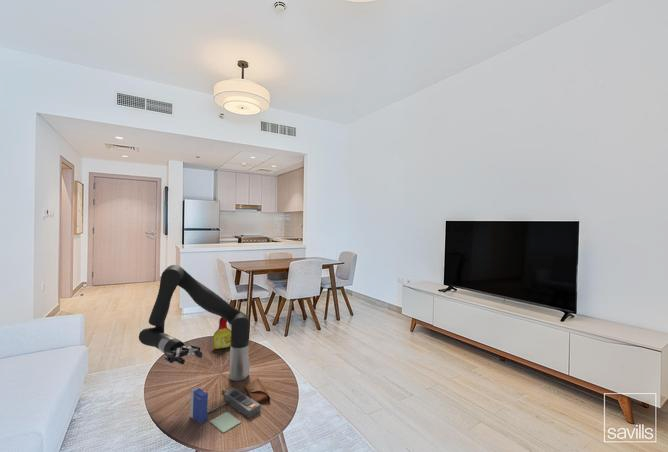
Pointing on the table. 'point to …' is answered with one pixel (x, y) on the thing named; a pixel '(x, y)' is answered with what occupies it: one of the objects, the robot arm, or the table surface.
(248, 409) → the power strip
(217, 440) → the table surface
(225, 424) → the mat
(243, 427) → the table surface
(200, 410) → the walkman
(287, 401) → the table surface
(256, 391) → the sunglasses case
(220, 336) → the bottle
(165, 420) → the table surface
